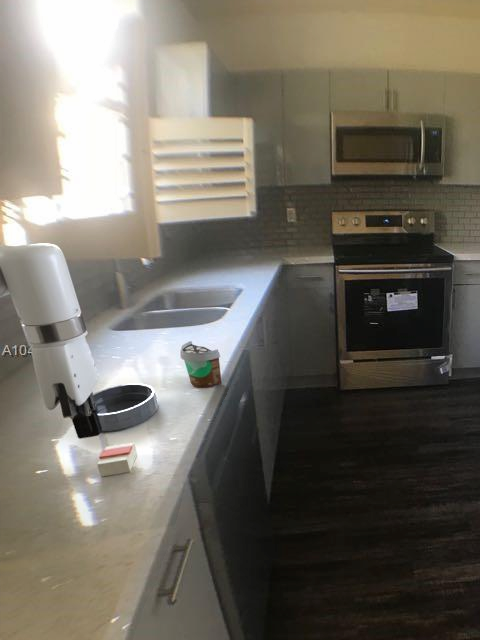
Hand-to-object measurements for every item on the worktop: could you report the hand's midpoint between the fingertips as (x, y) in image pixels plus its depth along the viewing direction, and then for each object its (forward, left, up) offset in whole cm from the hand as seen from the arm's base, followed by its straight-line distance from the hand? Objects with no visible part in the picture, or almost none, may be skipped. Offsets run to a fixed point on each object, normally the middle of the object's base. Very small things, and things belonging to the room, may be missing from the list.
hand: (90, 434), depth 75 cm
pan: (-4, +30, -12) cm, 33 cm away
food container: (+12, +42, -13) cm, 45 cm away
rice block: (0, +9, -12) cm, 15 cm away
